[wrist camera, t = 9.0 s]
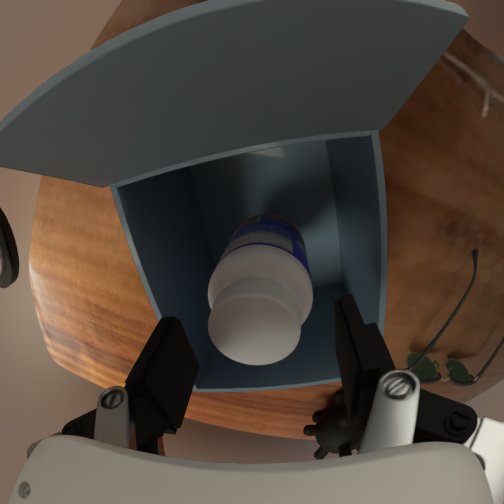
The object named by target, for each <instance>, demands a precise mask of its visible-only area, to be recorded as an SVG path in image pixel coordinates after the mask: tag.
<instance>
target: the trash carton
mask: <svg viewBox="0 0 504 504" xmlns="http://www.w3.org/2000/svg"><path fill="white" fill-rule="evenodd" d="M110 187H111V190H112V194H113V197H114V201H115V204H116V208H117V211H118V214H119V218H120V221H121V224H122V227H123V230H124V233H125V236H126V239H127V242H128V245H129V248H130V251H131V254H132V257H133V259H134V262H135V265H136V267H137V270H138V273H139V275H140V278H141V281H142V283H143V286H144V288H145V291H146V293H147V295H148V298H149V300H150V303H151V305H152V307H153V310H154V312H155V314H156V317H157V319H158V321H160V319H161V318H162V317H170V316H174V317H176V318H177V319H179V320H180V321H181V323H182V326H183V328H184V331H185V333H186V335H187V338H188V340H189V342H190V345H191V347H192V349H193V351H194V354H195V356H196V358H197V360H198V363H199V371H198V374H197V377H196V380H195V383H194V386H193V391H194V392H243V391H262V390H275V389H287V388H296V387H305V386H313V385H320V384H327V383H333V382H339V381H341V376H340V371H339V367H338V362H337V357H336V342H335V314H334V301H336V300H338V298H339V296H344V295H350V294H352V295H353V297H354V299H355V302H356V304H357V306H358V309H359V311H360V314H361V316H362V319H363V321H364V324H370V323H376V324H377V326H378V328H379V330H380V332H381V335H382V337H383V334H384V324H385V312H386V298H387V276H388V227H387V205H386V191H385V179H384V169H383V160H382V152H381V145H380V138H379V132H378V130H369V131H356V132H345V133H335V134H326V135H318V136H310V137H303V138H296V139H289V140H283V141H277V142H271V143H266V144H260V145H255V146H250V147H245V148H240V149H235V150H231V151H226V152H222V153H217V154H213V155H209V156H205V157H201V158H197V159H193V160H189V161H185V162H182V163H178V164H174V165H171V166H167V167H164V168H161V169H157V170H154V171H151V172H147V173H144V174H141V175H138V176H135V177H132V178H129V179H126V180H123V181H120V182H117V183H114V184H111V185H110ZM259 214H274V215H278V216H281V217H283V218H285V219H287V220H289V221H290V222H291V223H293V224H294V225H295V226H296V227H297V229H298V230H299V231H300V233H301V235H302V237H303V240H304V243H305V248H306V253H307V259H308V265H309V271H310V276H311V282H312V289H313V302H312V307H311V310H310V313H309V315H308V317H307V319H306V320H305V321H304V323H303V324H302V325H301V334H300V339H299V342H298V344H297V346H296V348H295V349H294V350H293V351H292V352H291V354H289V355H288V356H287V357H285V358H284V359H282V360H280V361H277V362H275V363H271V364H266V365H249V364H244V363H240V362H237V361H235V360H232V359H230V358H229V357H227V356H225V355H224V354H223V353H222V352H220V351H219V350H218V349H217V347H216V346H215V345H214V344H213V342H212V340H211V338H210V335H209V331H208V319H209V316H210V313H211V308H210V305H209V300H208V286H209V282H210V278H211V276H212V274H213V272H214V270H215V268H216V266H217V264H218V262H219V261H220V259H221V257H222V255H223V253H224V251H225V250H226V248H227V246H228V244H229V242H230V240H231V238H232V236H233V234H234V233H235V231H236V229H237V228H238V227H239V226H240V225H241V224H242V223H243V222H244V221H245V220H247V219H248V218H250V217H252V216H255V215H259Z"/></svg>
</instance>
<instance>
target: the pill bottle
mask: <svg viewBox="0 0 504 504" xmlns="http://www.w3.org/2000/svg"><path fill="white" fill-rule="evenodd" d="M208 300H209V305H210V308H211V313H210V316H209V319H208V331H209V335H210V338H211V340H212V342H213V344H214V345H215V346H216V347H217V349H218V350H219V351H220V352H222V353H223V354H224V355H225V356H227V357H229V358H230V359H232V360H235V361H237V362H240V363H244V364H249V365H266V364H271V363H275V362H277V361H280V360H282V359H284V358H285V357H287V356H288V355H289V354H291V352H292V351H293V350H294V349H295V348H296V346H297V344H298V342H299V339H300V334H301V325H302V324H303V323H304V321H305V320H306V319H307V317H308V315H309V313H310V310H311V307H312V302H313V289H312V282H311V276H310V271H309V265H308V259H307V253H306V248H305V243H304V240H303V237H302V235H301V233H300V231H299V230H298V229H297V227H296V226H295V225H294V224H293V223H291V222H290V221H289V220H287V219H285V218H283V217H281V216H278V215H274V214H259V215H255V216H252V217H250V218H248V219H247V220H245V221H244V222H243V223H242V224H241V225H240V226H239V227H238V228H237V229H236V231H235V233H234V234H233V236H232V238H231V240H230V242H229V244H228V246H227V248H226V250H225V251H224V253H223V255H222V257H221V259H220V261H219V262H218V264H217V266H216V268H215V270H214V272H213V274H212V276H211V278H210V282H209V286H208Z"/></svg>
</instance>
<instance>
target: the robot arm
mask: <svg viewBox="0 0 504 504" xmlns="http://www.w3.org/2000/svg"><path fill="white" fill-rule="evenodd" d="M3 269H4V259H3V253H2V249H1V245H0V275H1V274H2V273H3ZM334 314H335V342H336V357H337V362H338V367H339V371H340V376H341V382H342V387H343V392H344V397H345V403H346V408H347V414H348V420H349V421H353V420H354V425H355V427H359V430H361V431H363V432H364V436H363V439H362V442H361V445H360V448H359V451H358V454H356V455H350V456H344V457H338V458H330V459H322V460H313V461H304V462H292V463H291V462H290V463H269V464H268V463H267V464H240V463H219V462H206V461H195V460H187V459H180V458H173V457H167V456H165V452H164V445H163V438H162V436H163V434H164V433H167V434H176V431H177V428H180V427H181V425H182V422H183V418H184V415H185V412H186V409H187V406H188V402H189V399H190V396H191V393H192V390H193V386H194V383H195V380H196V377H197V374H198V371H199V363H198V360H197V358H196V356H195V354H194V351H193V349H192V347H191V345H190V342H189V340H188V338H187V335H186V333H185V331H184V328H183V326H182V323H181V321H180V320H179V319H177V318H176V317H174V316H170V317H162V318H161V319H160V321H159V323H158V324H157V326H156V328H155V329H154V331H153V333H152V335H151V336H150V338H149V340H148V342H147V343H146V345H145V347H144V349H143V350H142V352H141V354H140V356H139V357H138V359H137V361H136V363H135V365H134V366H133V368H132V370H131V372H130V374H129V375H128V377H127V379H126V381H125V383H126V385H125V387H124V388H123V387H121V386H113V387H110V388H108V389H106V390H105V391H104V392H103V393H102V394H101V395H100V396H99V399H98V402H97V408H96V409H94V410H92V411H90V412H88V413H86V414H84V415H82V416H80V417H78V418H76V419H74V420H72V421H70V422H68V423H67V424H66V425H65V426H64V428H63V429H62V433H60V432H58V433H55V434H53V435H51V436H49V437H47V438H44V439H42V440H40V441H38V442H35V443H33V444H32V445H31V446H30V447H29V448H28V451H27V459H28V460H27V462H26V463H25V465H24V467H23V469H22V471H21V473H20V475H19V477H18V479H17V481H16V484H15V486H14V488H13V491H12V493H11V495H10V498H9V500H8V503H7V504H504V423H503V422H500V421H497V420H494V419H491V418H488V417H483V419H481V418H478V417H477V415H476V413H475V411H474V410H473V409H472V408H471V407H469V406H467V405H465V404H462V403H459V402H456V401H453V400H450V399H448V398H445V397H442V396H439V395H437V394H434V393H431V392H428V391H426V390H423V389H421V388H420V381H419V379H418V377H417V376H416V375H415V374H414V373H413V372H411V371H409V370H405V369H396V368H395V366H394V363H393V361H392V358H391V356H390V354H389V351H388V349H387V346H386V344H385V342H384V339H383V337H382V335H381V332H380V330H379V328H378V326H377V324H376V323H370V324H364V321H363V319H362V316H361V314H360V311H359V309H358V306H357V304H356V302H355V299H354V297H353V295H352V294H350V295H344V296H339V298H338V300H336V301H334Z"/></svg>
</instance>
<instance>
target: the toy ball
mask: <svg viewBox="0 0 504 504" xmlns="http://www.w3.org/2000/svg"><path fill="white" fill-rule="evenodd" d="M312 420H313V421H314V422H315V423H316V425H306V426H305V427H304V430H303V432H304V434H305V435H308V436H316V440H317V443H318V444H319V445H320V447H319V449H318V450H317V451H316V452H315V453H314V457H315V458H316V459H318V460H321V459H323V458H324V457H325V456H326V455H327V454H328V452H331V453H339V457H344V456H350V455H352V453H351V450H354V449H356V450H357V451H359V448H360V445H361V442H362V439H363V436H364V432H363V431H361V430H359V427H355V425H354V420H353V421H349V420H348V414H347V408H346V403H345V397H344V393H343V392H337V393H335V394H334V407H333V408H330V409H329V410H327V411H326V412H325V413H323V414H319V413H316V414H314V415H313V417H312Z"/></svg>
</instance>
